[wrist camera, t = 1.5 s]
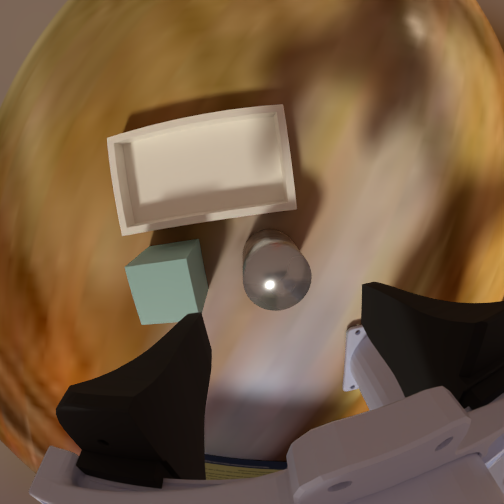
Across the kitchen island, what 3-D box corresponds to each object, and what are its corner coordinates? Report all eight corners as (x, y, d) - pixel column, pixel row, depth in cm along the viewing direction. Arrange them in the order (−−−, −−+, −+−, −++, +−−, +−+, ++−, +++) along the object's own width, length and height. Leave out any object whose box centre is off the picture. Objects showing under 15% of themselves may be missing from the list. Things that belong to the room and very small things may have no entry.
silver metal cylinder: (293, 225, 20) (308, 241, 15) (297, 276, 21) (313, 304, 16) (239, 232, 20) (238, 251, 15) (246, 283, 21) (248, 314, 16)
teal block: (199, 238, 20) (186, 258, 15) (208, 288, 21) (200, 319, 16) (149, 246, 20) (124, 267, 15) (160, 293, 21) (141, 324, 16)
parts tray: (278, 111, 18) (283, 104, 16) (291, 205, 20) (297, 209, 18) (119, 141, 18) (106, 138, 16) (133, 229, 20) (122, 236, 18)
